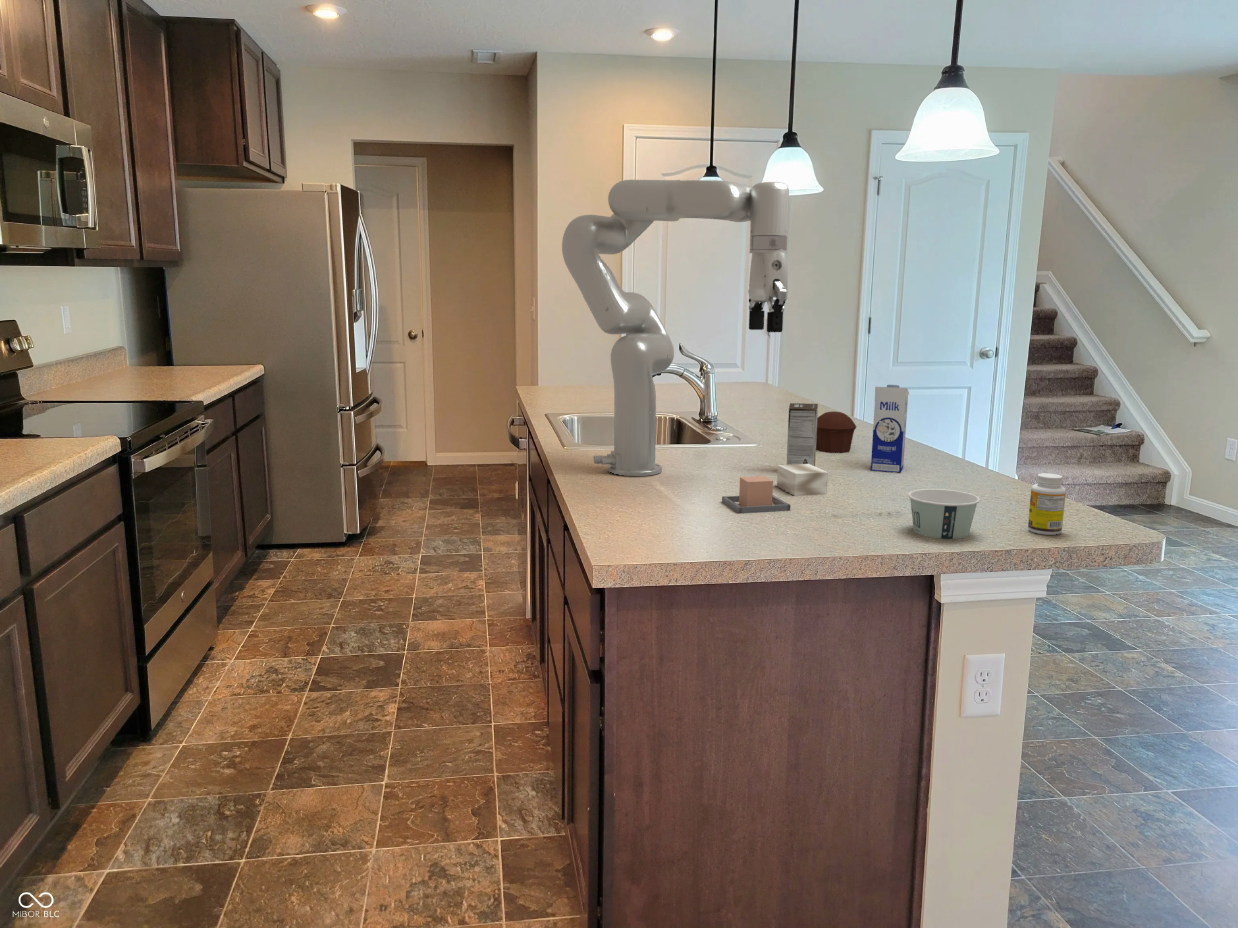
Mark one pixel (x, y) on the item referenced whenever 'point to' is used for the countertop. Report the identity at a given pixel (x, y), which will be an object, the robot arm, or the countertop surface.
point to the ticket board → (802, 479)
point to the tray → (754, 509)
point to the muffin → (834, 432)
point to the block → (755, 491)
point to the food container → (942, 512)
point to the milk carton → (889, 428)
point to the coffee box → (802, 433)
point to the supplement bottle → (1047, 505)
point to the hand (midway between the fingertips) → (765, 330)
